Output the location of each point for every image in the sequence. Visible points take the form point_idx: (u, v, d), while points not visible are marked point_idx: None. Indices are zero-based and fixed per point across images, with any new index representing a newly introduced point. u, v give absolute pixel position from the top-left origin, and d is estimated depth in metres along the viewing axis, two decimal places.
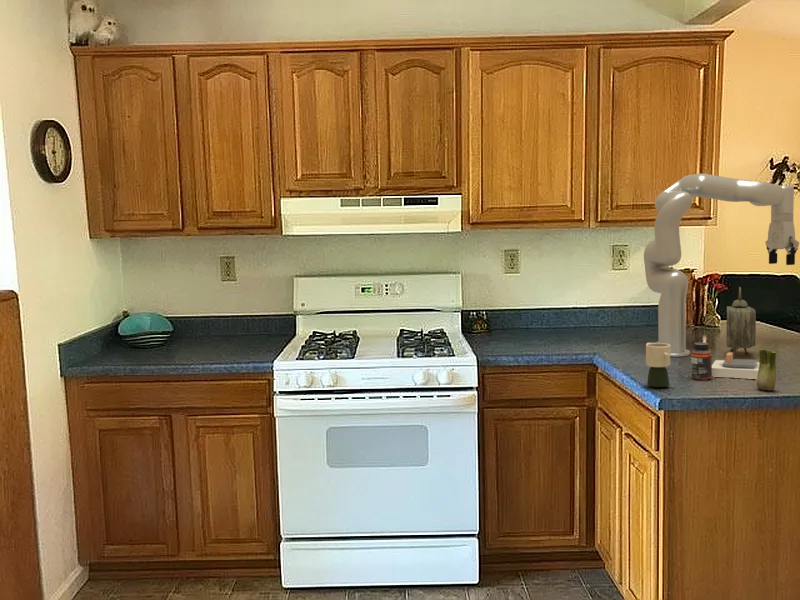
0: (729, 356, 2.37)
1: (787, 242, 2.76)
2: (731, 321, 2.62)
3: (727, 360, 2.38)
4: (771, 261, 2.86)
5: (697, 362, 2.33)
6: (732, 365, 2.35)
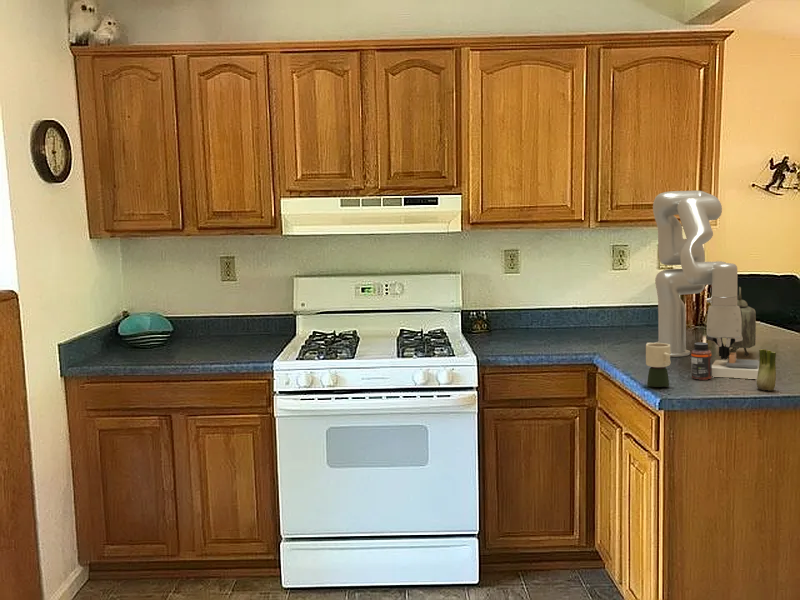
0: (732, 356, 2.37)
1: None
2: None
3: (730, 360, 2.37)
4: (723, 356, 2.40)
5: (697, 362, 2.33)
6: (735, 365, 2.35)
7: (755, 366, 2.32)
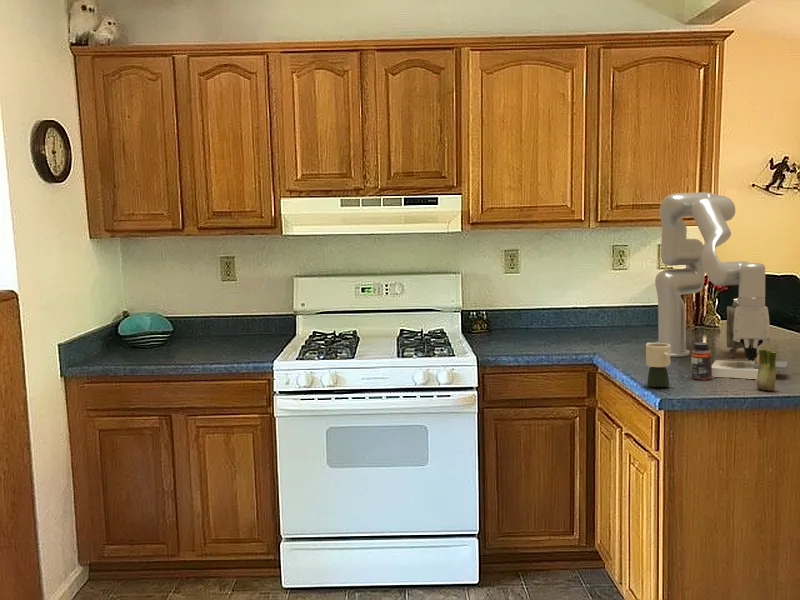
0: None
1: None
2: (731, 321, 2.62)
3: (758, 362, 2.33)
4: None
5: (697, 362, 2.33)
6: None
7: (784, 368, 2.28)
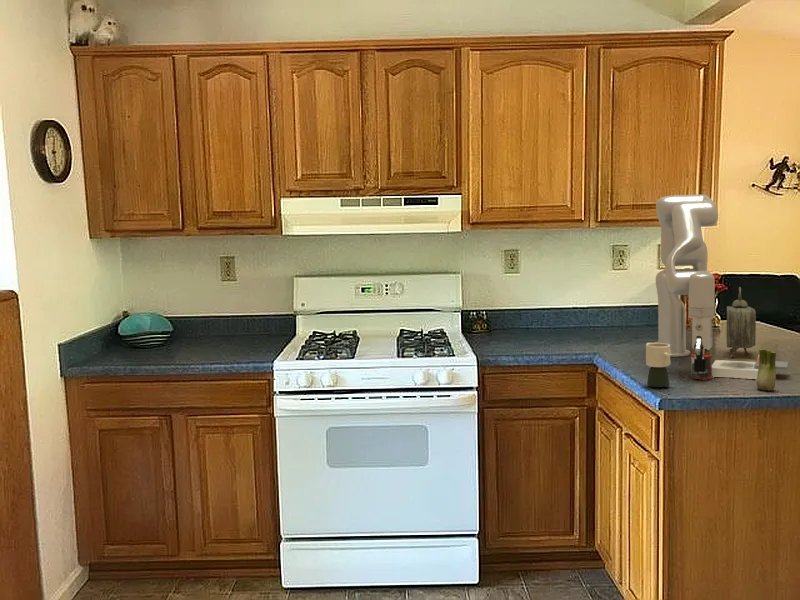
0: None
1: None
2: (731, 321, 2.62)
3: (758, 362, 2.33)
4: None
5: None
6: None
7: (784, 368, 2.28)
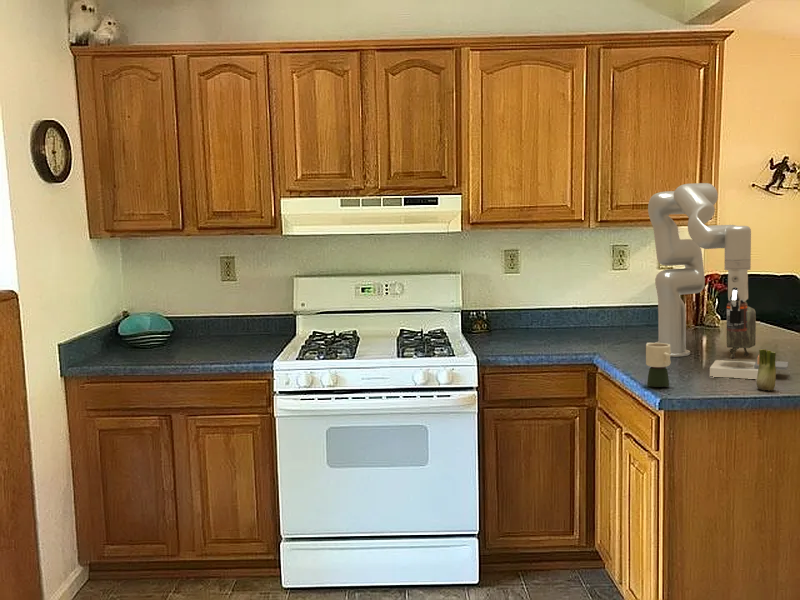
0: None
1: None
2: None
3: (758, 362, 2.33)
4: None
5: None
6: None
7: (784, 368, 2.28)
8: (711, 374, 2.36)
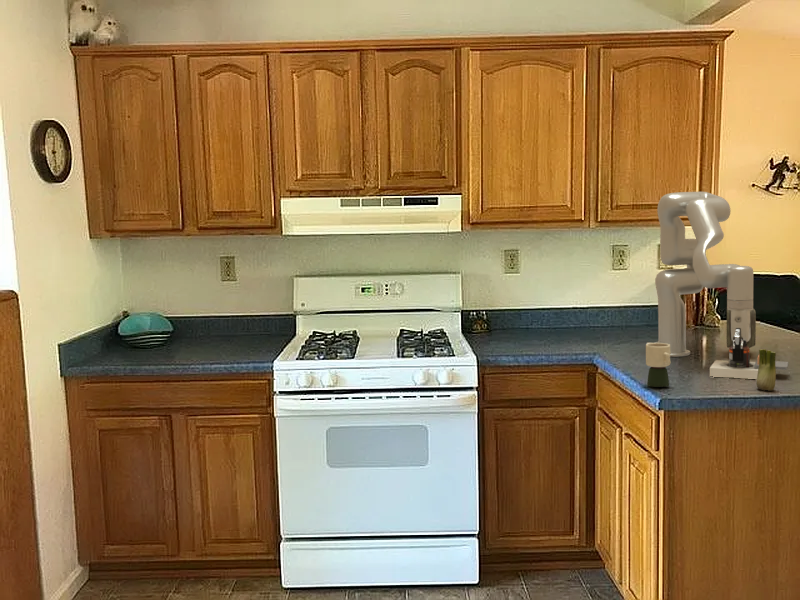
0: None
1: None
2: None
3: (758, 362, 2.33)
4: None
5: None
6: None
7: (784, 368, 2.28)
8: (711, 374, 2.36)
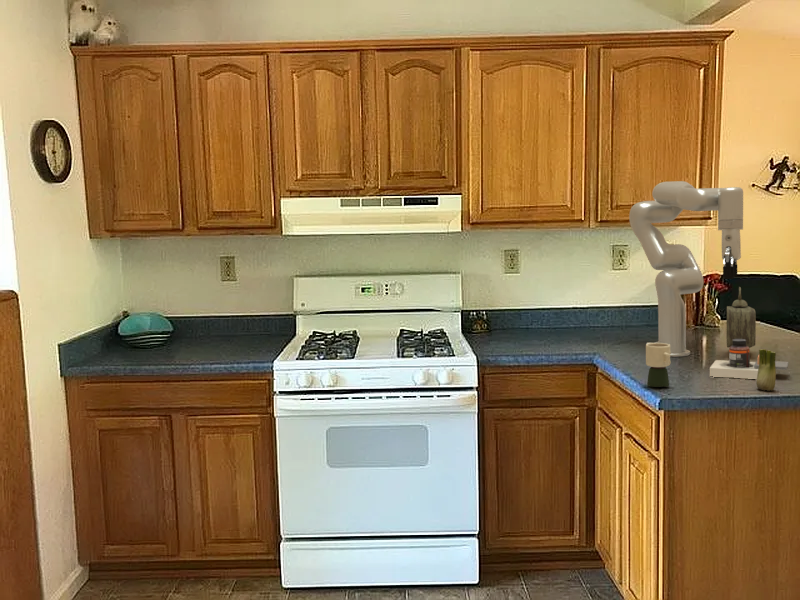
0: None
1: None
2: (731, 321, 2.62)
3: (758, 362, 2.33)
4: None
5: (735, 358, 2.36)
6: None
7: (784, 368, 2.28)
8: (711, 374, 2.36)
